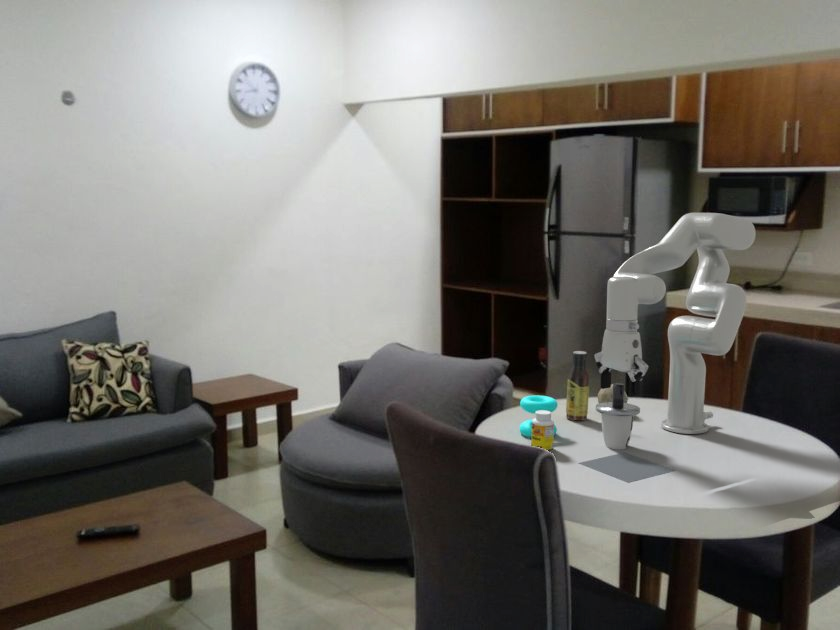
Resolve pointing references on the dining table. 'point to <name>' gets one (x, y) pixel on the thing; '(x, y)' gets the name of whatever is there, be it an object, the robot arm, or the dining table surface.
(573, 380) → the sauce bottle
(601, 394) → the garlic bulb
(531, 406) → the donuts
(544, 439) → the supplement bottle
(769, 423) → the dining table surface
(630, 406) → the lid
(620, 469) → the mat
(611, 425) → the cup
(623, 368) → the robot arm
